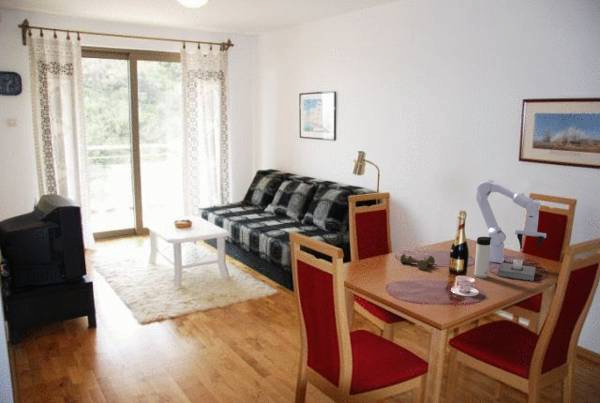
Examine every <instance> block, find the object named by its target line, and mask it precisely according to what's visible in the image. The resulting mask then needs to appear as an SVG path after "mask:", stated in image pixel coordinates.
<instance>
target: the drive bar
mask: <svg viewBox="0 0 600 403" xmlns="http://www.w3.org/2000/svg"><path fill="white" fill-rule="evenodd" d="M523 261H524V260H523V259H515V258H513V261H512V264H513V268H512V270H519V271H522V265H523Z"/></svg>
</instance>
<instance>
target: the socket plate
mask: <svg viewBox="0 0 600 403" xmlns="http://www.w3.org/2000/svg"><path fill="white" fill-rule="evenodd" d="M499 264H500V265H499V267H498V269H497V276H498V277H504V278H508V277H509V278H510V279H516V280H521V279H522V280H521V281H523V280H524V281H528V280H529V281H530V282H535V281H534V279H535V275H536V266H529V265H523V264H522V271H519V270H512V268H513V263H509V262H503V263H502V262H501V263H499ZM529 281H528V282H529Z"/></svg>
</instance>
